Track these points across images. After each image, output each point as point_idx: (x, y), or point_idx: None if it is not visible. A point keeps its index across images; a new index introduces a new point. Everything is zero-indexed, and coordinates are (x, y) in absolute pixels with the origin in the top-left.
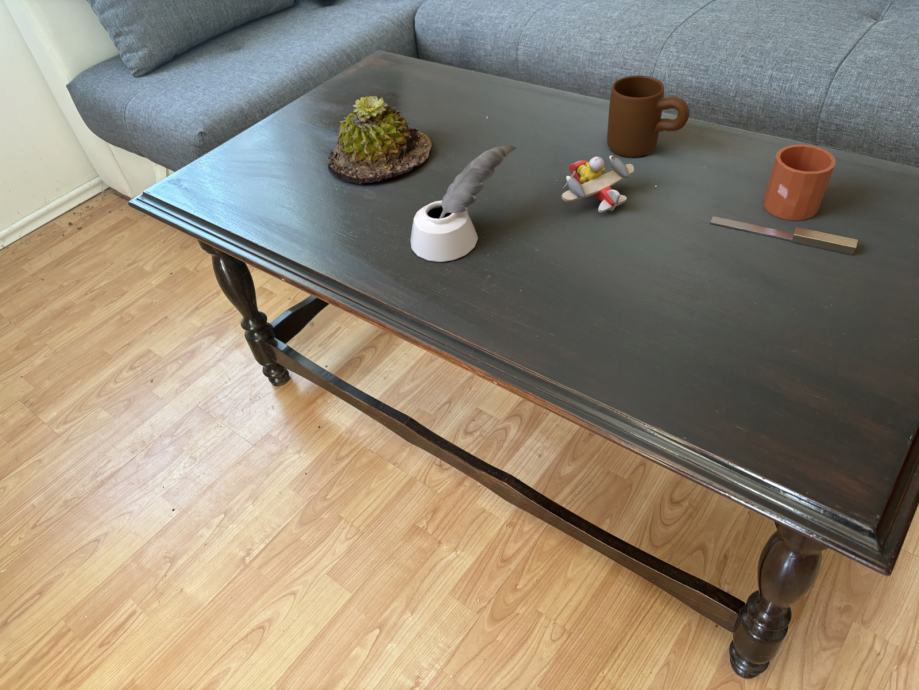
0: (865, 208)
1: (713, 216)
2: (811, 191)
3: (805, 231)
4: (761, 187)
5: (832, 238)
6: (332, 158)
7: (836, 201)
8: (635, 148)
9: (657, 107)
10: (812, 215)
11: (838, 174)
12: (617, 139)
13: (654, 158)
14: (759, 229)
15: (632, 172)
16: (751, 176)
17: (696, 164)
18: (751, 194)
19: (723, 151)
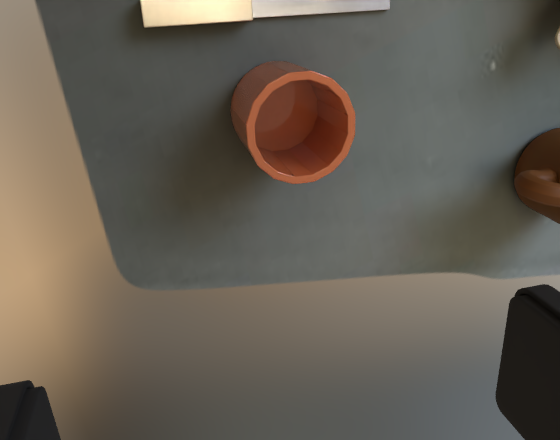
0: (161, 158)
1: (388, 8)
2: (260, 78)
3: (234, 12)
4: None
5: (185, 9)
6: None
7: (210, 157)
8: (553, 136)
9: None
10: (235, 89)
11: (227, 237)
12: None
13: (508, 148)
14: (307, 2)
15: (557, 34)
16: (354, 167)
17: (442, 162)
18: None
19: (410, 219)
